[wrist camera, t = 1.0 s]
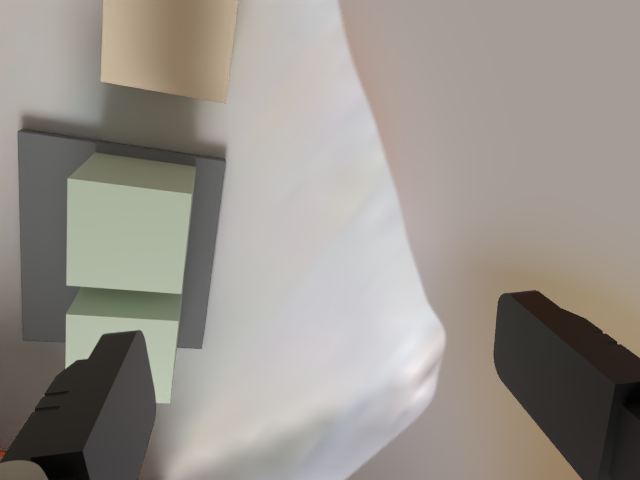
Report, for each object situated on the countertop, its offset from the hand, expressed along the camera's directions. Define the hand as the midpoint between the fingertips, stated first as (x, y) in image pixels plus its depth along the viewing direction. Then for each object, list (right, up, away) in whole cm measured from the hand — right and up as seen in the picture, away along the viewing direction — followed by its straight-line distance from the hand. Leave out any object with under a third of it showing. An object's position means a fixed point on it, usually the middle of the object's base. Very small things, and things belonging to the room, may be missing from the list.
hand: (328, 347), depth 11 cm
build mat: (-11, +2, +16) cm, 20 cm away
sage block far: (-11, -2, +17) cm, 21 cm away
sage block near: (-10, +4, +15) cm, 18 cm away
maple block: (-7, +13, +13) cm, 19 cm away
